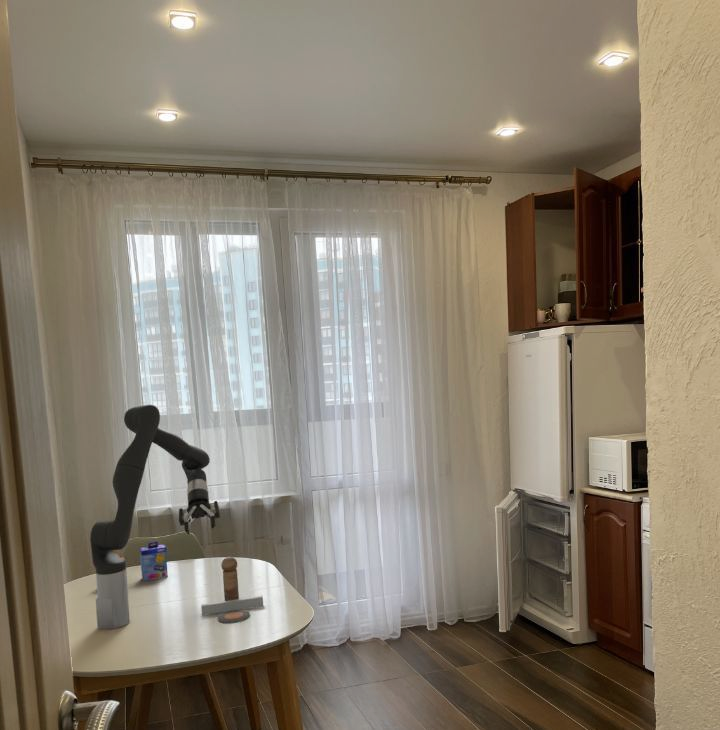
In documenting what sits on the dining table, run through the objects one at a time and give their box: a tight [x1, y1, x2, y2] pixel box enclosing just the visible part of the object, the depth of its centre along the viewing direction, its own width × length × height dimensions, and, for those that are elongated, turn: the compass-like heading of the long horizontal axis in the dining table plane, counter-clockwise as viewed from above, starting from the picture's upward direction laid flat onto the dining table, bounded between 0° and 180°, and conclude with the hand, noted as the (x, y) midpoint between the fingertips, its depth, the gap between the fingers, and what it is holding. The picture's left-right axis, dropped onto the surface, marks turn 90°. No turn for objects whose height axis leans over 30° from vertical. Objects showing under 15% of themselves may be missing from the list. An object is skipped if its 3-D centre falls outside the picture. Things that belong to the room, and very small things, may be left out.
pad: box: [217, 609, 250, 624], centre depth 215 cm, size 10×10×1 cm
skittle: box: [220, 556, 240, 601], centre depth 230 cm, size 5×5×16 cm
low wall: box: [200, 595, 264, 616], centre depth 222 cm, size 20×2×3 cm, turn 103°
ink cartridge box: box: [139, 540, 169, 582], centre depth 269 cm, size 10×6×14 cm, turn 115°
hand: (200, 529), depth 236 cm, fingers open, 8 cm apart
